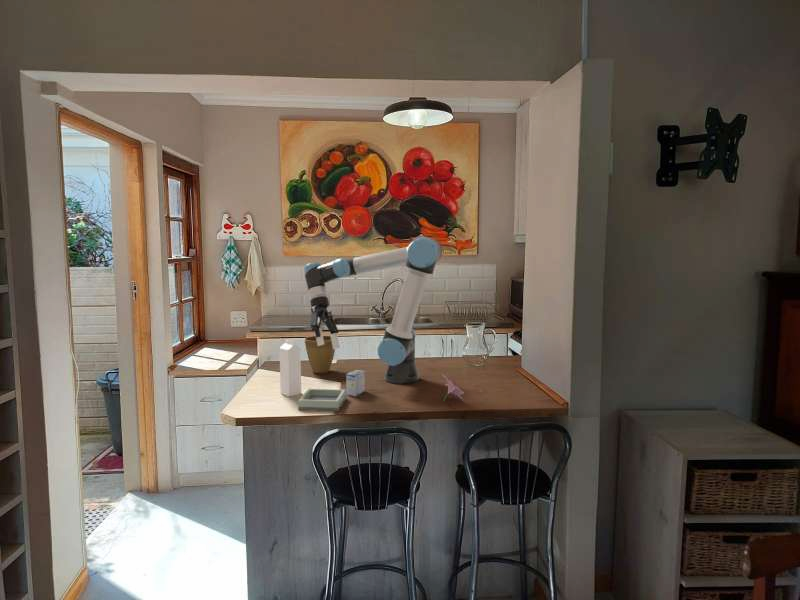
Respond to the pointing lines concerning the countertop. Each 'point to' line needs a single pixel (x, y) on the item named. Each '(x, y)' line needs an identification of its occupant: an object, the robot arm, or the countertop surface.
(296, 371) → the milk
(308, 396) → the carton holder
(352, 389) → the medicine box
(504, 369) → the countertop surface
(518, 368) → the countertop surface
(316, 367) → the plant pot
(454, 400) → the countertop surface
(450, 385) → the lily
